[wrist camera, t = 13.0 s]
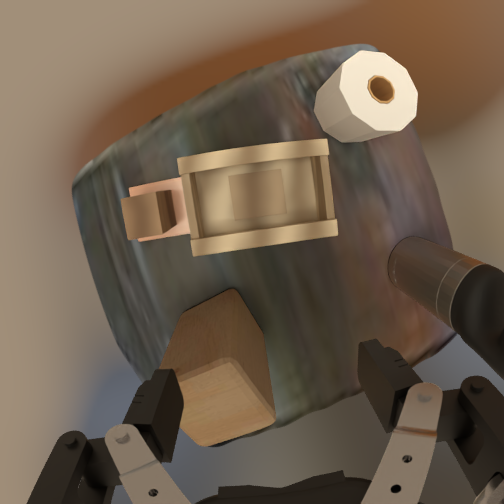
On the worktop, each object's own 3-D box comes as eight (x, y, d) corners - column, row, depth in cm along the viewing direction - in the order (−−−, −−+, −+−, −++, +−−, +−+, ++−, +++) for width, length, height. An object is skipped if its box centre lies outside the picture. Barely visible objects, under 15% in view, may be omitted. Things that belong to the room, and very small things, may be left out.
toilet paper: (388, 121, 39) (432, 107, 28) (341, 156, 40) (377, 148, 29) (350, 69, 37) (383, 38, 25) (299, 100, 38) (320, 72, 27)
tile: (182, 177, 40) (181, 177, 40) (191, 232, 42) (190, 233, 42) (130, 187, 40) (128, 188, 40) (139, 240, 42) (138, 241, 42)
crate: (313, 145, 40) (326, 138, 33) (323, 227, 43) (338, 235, 36) (187, 162, 40) (177, 158, 33) (200, 244, 43) (193, 256, 36)
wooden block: (178, 312, 45) (144, 394, 25) (234, 284, 44) (231, 359, 25) (212, 360, 47) (200, 451, 28) (265, 335, 46) (280, 424, 27)
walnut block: (171, 189, 40) (155, 191, 32) (176, 224, 41) (162, 234, 33) (141, 195, 40) (120, 199, 32) (147, 229, 41) (128, 240, 33)
